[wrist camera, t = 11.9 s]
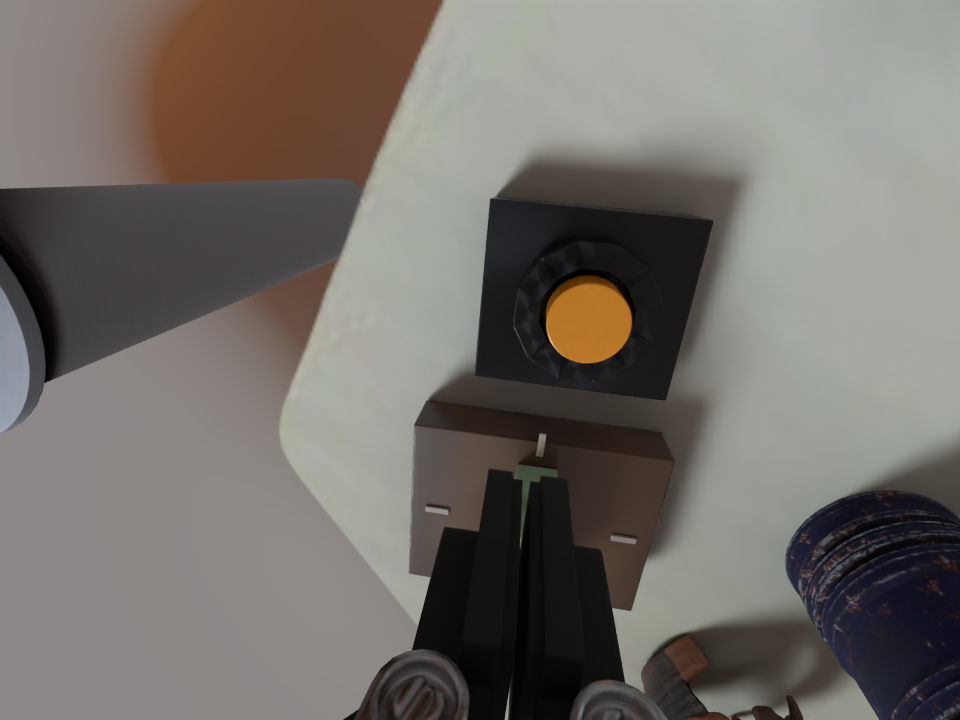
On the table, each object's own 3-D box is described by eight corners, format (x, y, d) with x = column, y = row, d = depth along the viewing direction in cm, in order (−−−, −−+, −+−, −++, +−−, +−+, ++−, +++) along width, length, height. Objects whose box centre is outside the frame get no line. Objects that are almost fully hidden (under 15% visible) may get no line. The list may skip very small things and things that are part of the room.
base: (419, 546, 33) (407, 583, 30) (426, 390, 28) (413, 416, 25) (621, 579, 32) (629, 621, 29) (664, 423, 27) (679, 453, 24)
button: (541, 345, 22) (540, 358, 21) (551, 270, 21) (552, 278, 19) (617, 354, 22) (622, 368, 20) (633, 279, 21) (641, 288, 19)
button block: (479, 360, 27) (469, 390, 23) (494, 196, 23) (485, 200, 20) (656, 383, 26) (674, 418, 22) (699, 216, 23) (728, 224, 19)
